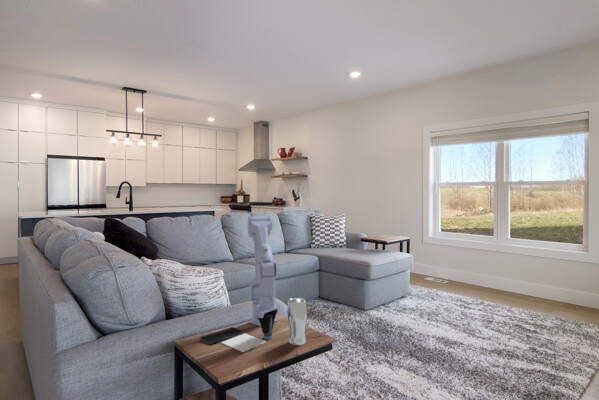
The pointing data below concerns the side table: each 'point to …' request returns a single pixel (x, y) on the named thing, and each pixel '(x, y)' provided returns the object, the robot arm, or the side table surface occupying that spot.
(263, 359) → the side table surface
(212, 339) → the phone
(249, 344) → the paper
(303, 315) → the beer glass
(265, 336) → the grey cylinder
